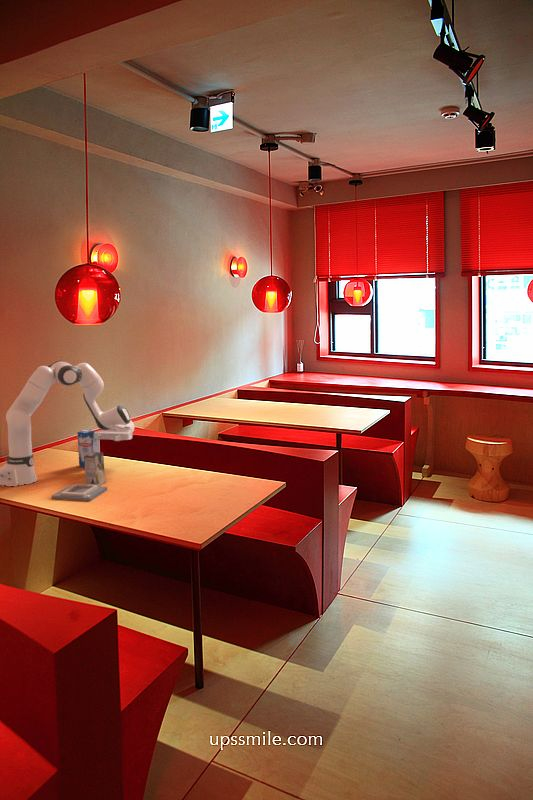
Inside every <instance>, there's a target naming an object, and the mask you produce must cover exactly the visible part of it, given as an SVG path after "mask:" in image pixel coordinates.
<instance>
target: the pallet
mask: <svg viewBox="0 0 533 800" xmlns="http://www.w3.org/2000/svg"><path fill="white" fill-rule="evenodd" d="M107 489H108V486H101V485H100V486H98V485H90V484H86V483H75V484H69V485H68V486H66V487H64V488H63V489H61V490H59V491H57V492H56V493H54V494H53V495H51V499H52V500H63V499H66V501H83V502H92V501H94V500H95V499H96V498H97V497H99V496H101V495H102V494H103V493H105V492H106V491H108V490H107Z"/></svg>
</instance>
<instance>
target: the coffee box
mask: <svg viewBox="0 0 533 800" xmlns="http://www.w3.org/2000/svg"><path fill="white" fill-rule="evenodd" d="M84 463H85V467H84V476H85V484H90V485H98V486H101V485H103V484H105V483H106V476H105V474H106V473H105V462H104V452H101V451H100V452H92V453H90V454H88V455H86V456H84ZM104 482H105V483H104Z"/></svg>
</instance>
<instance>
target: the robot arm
mask: <svg viewBox="0 0 533 800" xmlns="http://www.w3.org/2000/svg"><path fill="white" fill-rule="evenodd" d="M56 382H58V383H60V384H61V385H63V386H69V387H70V386H72V385H75V384H77V383H78V384H79V386H80V387H81V389H82V390H83V400H84V402H85V405H86V406H87V408H88V409H89V412H90V413H91V415H92V416H93V418H94V421H95V423H96V426H97V427H98V429H100V430H95V431H96V432H94V439H97V440H99V441H100V440H112V441H114V442H120V441H128V440H132V439H133V433H134V431H135V427H136V426H135V424H134V422H133V421H132V420H131V416H130V413H129V412H128V410H127V409H126V408H125V407H124V406H122V405H117V406H114V407H113V408H110V409H108V410H105V411H102V410H101V409H100V406H99V405H98V403H97V402H96V399H97V398H98V397H99V396H100V395H101V394H102V392H103V390H104V386H105V383H104V381H103V379H102V377H101V376H100V375H99V373H98V372H97V371H96V370H95V369H94V368H93V367H92V366H91V365H90V364H89V363H87V362H81V363H80V362H79V363H78V364H76V365H75V366H73V365H72V364H71V363H69V362H66V360H65V361H63V360H57V361H55V362H53V363H52V364H50V365H48V366H47V365H40V366H39V367H38V368H36V369H35V370H34V372H32V374H31V376H30V377H29V378H28V380H27V382H26V384H25V385H24V387H23V388H22V390H21V391H20V394H18V396H17V397H16V399H15V400H14V402H13V403H11V404H12V405H10V406H9V409H8V410H7V411H6V414H5V419H6V423H7V437H8V438H7V440H8V441H7V443H8V444H7V445H8V456H7V457H5V458H4V461H6V463H5V464H3V465H2V466H1V467H0V486H4V485H6V487H11V486H14V487H18V485H19V486H25V485H24V484H26V485H30V484H32V483H33V482H34V483H35V482H37V481H38V478H37V475H36V472H35V468H34V463H35V462H34V454H33V446H32V445H33V444H32V418H31V416H32V415H33V414H34V412H35V411H36V410H37V409H38V407H40V405H41V403H43V400H44V399H45V396H46V395H47V393H48V392H49V390H50V389H51V386H53V385H54V383H56Z"/></svg>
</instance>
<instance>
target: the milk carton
mask: <svg viewBox="0 0 533 800" xmlns="http://www.w3.org/2000/svg"><path fill="white" fill-rule="evenodd" d="M96 431H97V430H87V429H82V430H80V431H77V448H78V450H77V451H78V466H81V467H80V468H85V463H84V456H86V455H88V454H90V453H92V452H100V453H101V451H100V449H101V448H100V447H101V446H100V440H97V439H94V432H96Z"/></svg>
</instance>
